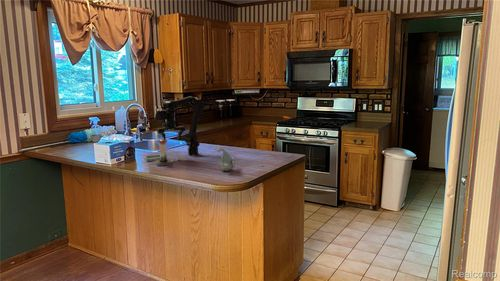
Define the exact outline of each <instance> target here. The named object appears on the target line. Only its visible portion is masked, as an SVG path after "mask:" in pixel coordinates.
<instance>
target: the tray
mask: <svg viewBox="0 0 500 281" xmlns="http://www.w3.org/2000/svg"><path fill="white" fill-rule="evenodd" d="M144 160H145V161H146V162H147V163H148V161H149V162H155V160H160V154H156V155H155V154H154V155H144Z"/></svg>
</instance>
